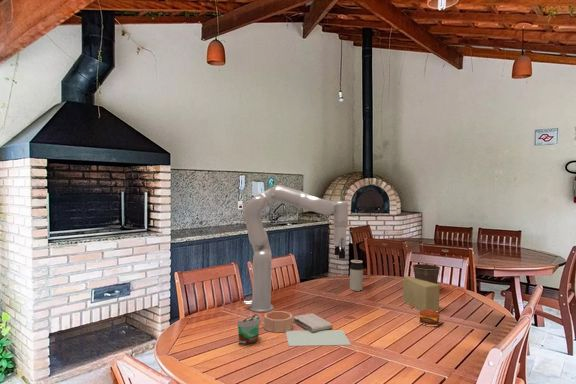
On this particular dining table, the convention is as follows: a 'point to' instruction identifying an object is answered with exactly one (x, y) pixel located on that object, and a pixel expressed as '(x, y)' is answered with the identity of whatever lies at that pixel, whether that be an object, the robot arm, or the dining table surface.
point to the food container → (249, 330)
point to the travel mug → (356, 275)
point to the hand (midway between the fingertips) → (339, 256)
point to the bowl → (278, 321)
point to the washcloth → (312, 322)
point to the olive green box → (421, 293)
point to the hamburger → (429, 317)
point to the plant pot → (426, 272)
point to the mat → (317, 338)
